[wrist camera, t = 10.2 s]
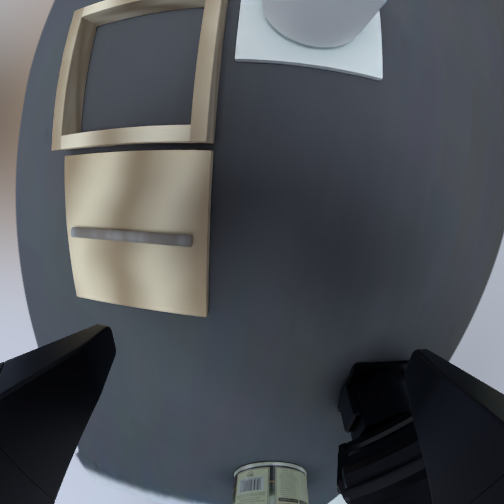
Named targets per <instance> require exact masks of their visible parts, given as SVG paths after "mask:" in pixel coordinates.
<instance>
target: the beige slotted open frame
mask: <svg viewBox="0 0 504 504" xmlns="http://www.w3.org/2000/svg"><path fill="white" fill-rule="evenodd" d="M228 1H229V0H105V1H102V2H99V3H95V4H93V5H90V6H87V7H84V8H81V9H79V10H76V11H75V13H74V16H73V19H72V22H71V26H70V30H69V33H68V37H67V41H66V45H65V49H64V54H63V59H62V63H61V69H60V74H59V80H58V86H57V93H56V101H55V110H54V120H53V133H52V151H55V150H73V149H82V148H91V147H103V146H116V145H132V144H158V143H210V144H214V137H215V124H216V111H217V99H218V88H219V77H220V67H221V58H222V49H223V40H224V31H225V23H226V16H227V8H228ZM200 7H205V8H204V14H203V21H202V27H201V34H200V41H199V49H198V56H197V65H196V73H195V83H194V93H193V103H192V115H191V125H161V126H142V127H128V128H117V129H107V130H98V131H90V132H83V133H81V122H82V111H83V101H84V93H85V86H86V79H87V73H88V67H89V61H90V56H91V51H92V46H93V42H94V37H95V33H96V29H97V26H100V25H104V24H108V23H111V22H115V21H119V20H123V19H127V18H132V17H137V16H142V15H147V14H152V13H158V12H165V11H172V10H180V9H189V8H200ZM213 152H214V151H209V150H146V151H122V152H105V153H92V154H81V155H71V156H65V203H66V219H67V231H68V240H69V249H70V257H71V264H72V270H73V277H74V282H75V288H76V293H77V296H78V297H82V298H87V299H92V300H98V301H103V302H108V303H114V304H119V305H125V306H131V307H137V308H143V309H150V310H156V311H163V312H170V313H177V314H185V315H193V316H201V317H207V315H208V299H209V240H210V211H211V188H212V169H213Z"/></svg>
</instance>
